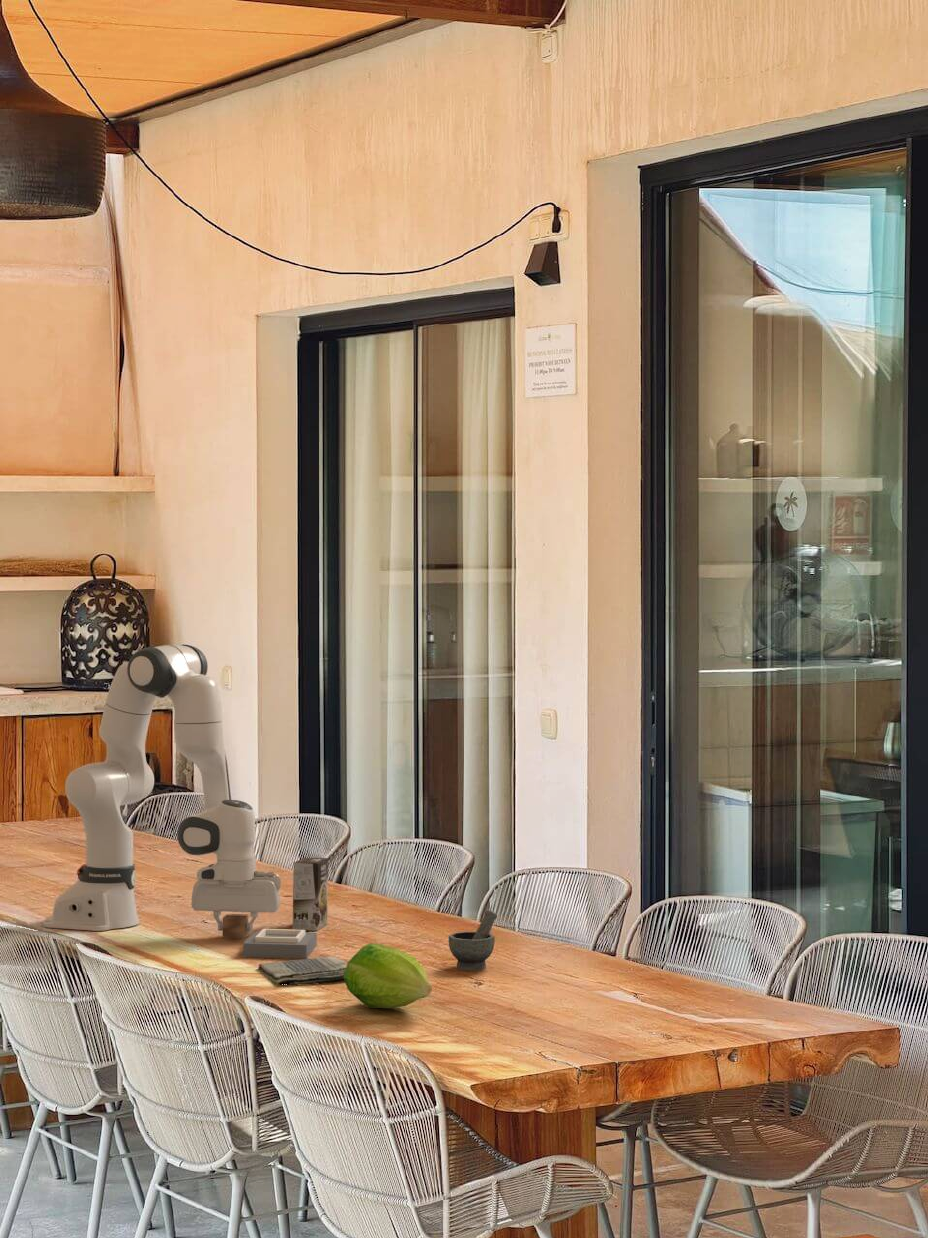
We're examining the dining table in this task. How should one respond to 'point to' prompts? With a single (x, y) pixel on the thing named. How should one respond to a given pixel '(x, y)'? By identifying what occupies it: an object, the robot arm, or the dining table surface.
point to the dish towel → (305, 971)
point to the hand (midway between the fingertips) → (235, 930)
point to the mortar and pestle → (474, 945)
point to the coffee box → (310, 893)
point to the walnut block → (235, 926)
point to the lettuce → (386, 977)
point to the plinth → (280, 944)
